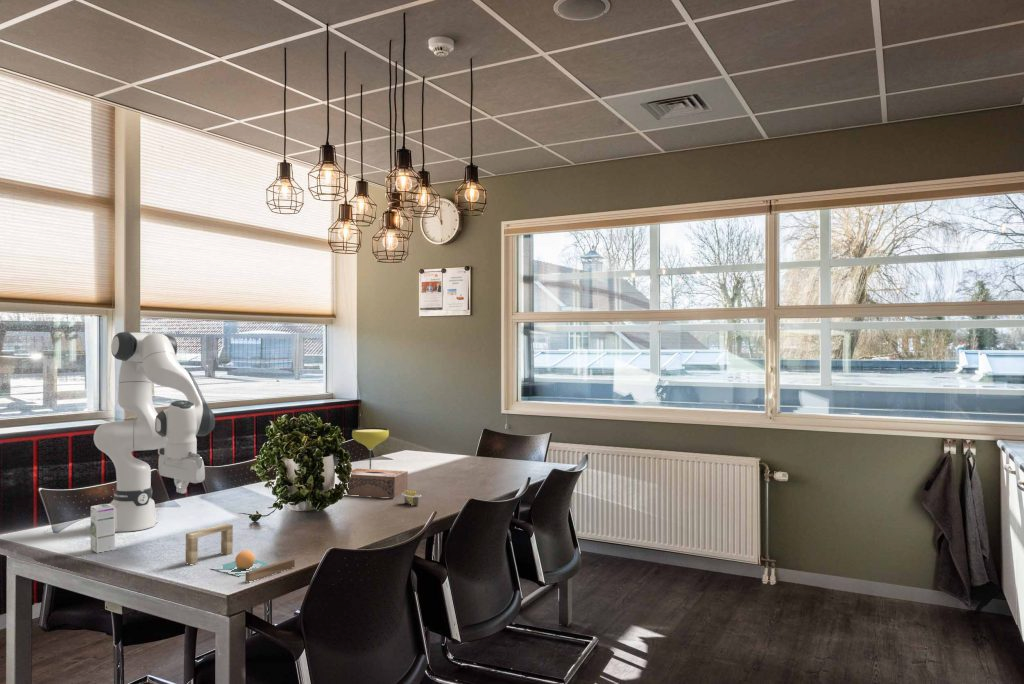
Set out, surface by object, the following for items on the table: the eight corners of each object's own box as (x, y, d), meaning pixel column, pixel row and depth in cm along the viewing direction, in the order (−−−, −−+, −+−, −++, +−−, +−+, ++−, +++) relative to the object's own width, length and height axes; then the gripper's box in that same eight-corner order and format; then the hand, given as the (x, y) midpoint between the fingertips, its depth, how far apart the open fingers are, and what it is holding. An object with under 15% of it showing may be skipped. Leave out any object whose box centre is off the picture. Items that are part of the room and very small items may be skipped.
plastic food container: (415, 511, 288) (415, 495, 288) (384, 505, 298) (384, 490, 298) (435, 506, 297) (435, 490, 298) (404, 500, 308) (404, 485, 308)
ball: (230, 568, 210) (232, 550, 210) (245, 563, 215) (247, 546, 215) (242, 574, 208) (244, 556, 207) (257, 569, 212) (259, 551, 212)
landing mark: (210, 569, 211) (210, 568, 211) (246, 558, 222) (246, 557, 222) (238, 576, 204) (238, 576, 204) (274, 565, 215) (274, 564, 215)
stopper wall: (245, 581, 200) (245, 572, 200) (289, 566, 214) (290, 558, 214) (250, 582, 199) (250, 573, 199) (294, 567, 213) (294, 559, 213)
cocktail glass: (393, 481, 350) (394, 430, 350) (358, 484, 341) (358, 432, 341) (381, 475, 366) (381, 427, 366) (347, 478, 357) (347, 428, 357)
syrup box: (115, 550, 230) (116, 505, 230) (95, 554, 226) (96, 508, 226) (109, 546, 234) (109, 502, 234) (89, 550, 229) (89, 505, 229)
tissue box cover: (341, 496, 316) (341, 473, 316) (356, 489, 330) (356, 468, 330) (394, 499, 310) (394, 476, 310) (407, 493, 323) (407, 471, 324)
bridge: (185, 563, 216) (185, 533, 216) (226, 552, 229) (226, 523, 229) (191, 565, 215) (191, 535, 215) (232, 553, 227) (232, 524, 227)
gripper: (210, 453, 229) (209, 495, 229) (172, 446, 239) (172, 486, 240) (192, 456, 223) (192, 499, 224) (154, 448, 234) (154, 489, 234)
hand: (181, 492), depth 232 cm, fingers closed
